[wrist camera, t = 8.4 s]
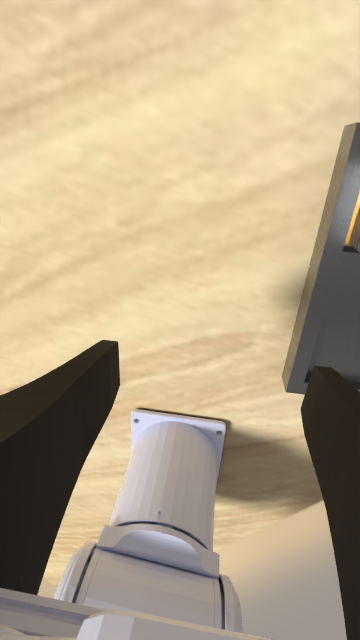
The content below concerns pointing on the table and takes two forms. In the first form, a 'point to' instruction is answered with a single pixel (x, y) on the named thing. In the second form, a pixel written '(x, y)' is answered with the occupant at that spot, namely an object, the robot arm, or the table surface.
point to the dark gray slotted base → (331, 282)
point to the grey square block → (356, 234)
